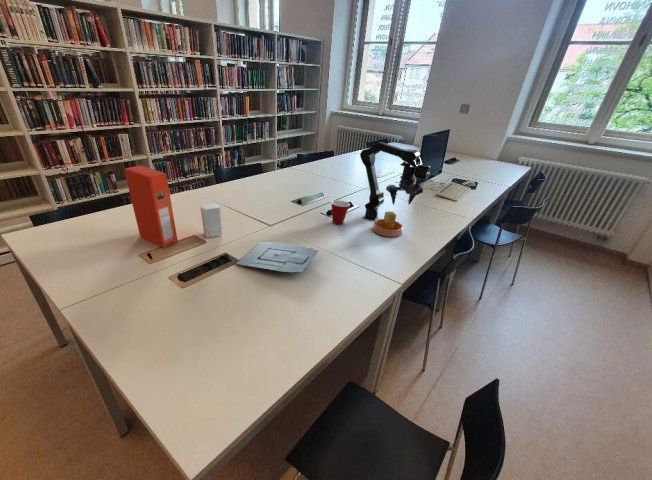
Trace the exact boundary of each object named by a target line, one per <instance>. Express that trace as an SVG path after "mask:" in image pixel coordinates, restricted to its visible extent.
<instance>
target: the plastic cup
mask: <svg viewBox="0 0 652 480" xmlns="http://www.w3.org/2000/svg"><path fill="white" fill-rule="evenodd" d="M330 204H331V218H332V223H333V224H334V225H337V226H340V225H341V226H342V225H343V224H344V222H345V219H346V216H347V213H348V210H349V207H350V206H351V203H350V202H348V201H345V200H341V199H335V200H333V199H332V200H331V201H330Z"/></svg>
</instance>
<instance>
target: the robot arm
mask: <svg viewBox="0 0 652 480" xmlns="http://www.w3.org/2000/svg"><path fill="white" fill-rule="evenodd" d="M380 152H382V153H385V154H388V155H391V156H395V157H398V158H399V159H400V160H402V161H403V162H402V163H400V164H399V165H400V166H401V167H403V169H402V175H400V177H399V178H400V183H398V186H397V185H395V184H387V186H386V187H385V190H386V191H387V192H388V193H389V194H390V197H391V198H390V199H391V203H392V205H393V206H394V205H395V203H396V197H397V196H398V191H399V192H405V194H407V195H408V201H407V205H411V203H412V202H413V200H414V199H415V198H416V197H417V196H418V195H421V194H423V192H424V188H423V187H422V186H421V184H420V183H415V179H414V177H415V178H416V179H420V180H423V181H428V180H429V178H430V176H431V165H425V164H423V162H422V159H421V157H420V155H421V153H420V151H419V150H418V149H411V148H410V149H409V148H401V147H399V146H395V145H392V144H389V143H386V142H384V141H379V142H377V143H375V144H374V145H371V146H370V147H368V148H364V149H362V150H361V152H360V153H359V157H360V160H361V162H362V164H363V165H364V167H365V172H366V176H367V182H368V187H369V190H370V193H369V197H368V198H369V199H368V200H369V201H368V202H367V203H366V204H365V205H364V208H365V212H364V213H365V214H364V216H363V218H364V219H366V220H371V221H376V220H377V218H378V217H379V216H378V215H379V208H380V207H381V206H382V205H383V204H384V203H385V202H384V201H385V199H386V198H385V195H384V192H383V191H382V192H381V191H380V188H379V183H378V177H377V172H376V167H375V162H376V155H377V154H378V153H380Z"/></svg>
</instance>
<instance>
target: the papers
mask: <svg viewBox="0 0 652 480" xmlns="http://www.w3.org/2000/svg"><path fill="white" fill-rule="evenodd" d="M319 252H320V249H319V250H318V249H314V248H313V247H307V246H304V245H298V244H293V243H292V244H291V243H283V242H276V241H263V240H261V241H260V242H259V243H258V244H257V245H256V246H254V248H253V249H252V250H251V251H250V252H248V253H247V254H246V255H245V256H243V257H242V258H240V259H239V260H238V261H236V262H235V265H239V266H245V267H253V268H258V269H265V270H271V271H276V272H281V273H286V272H287V273H291V274H292V273H294V272H296V273H303V272H304V271H305V269H306V268H307V267H308V265H309V264H310V263H311V262H312V260H313V259H314V258H315V257H316V255H318V253H319Z"/></svg>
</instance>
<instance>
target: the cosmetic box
mask: <svg viewBox="0 0 652 480" xmlns="http://www.w3.org/2000/svg"><path fill="white" fill-rule="evenodd" d="M219 206H220V205H218V203H211V204H203V205H200V206H199V208H200V215H201V223H202V228H203V234H204V236H205V238H206V239H209V238H215V237H221V236H223V227H222V217H221V208H220V207H219Z"/></svg>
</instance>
